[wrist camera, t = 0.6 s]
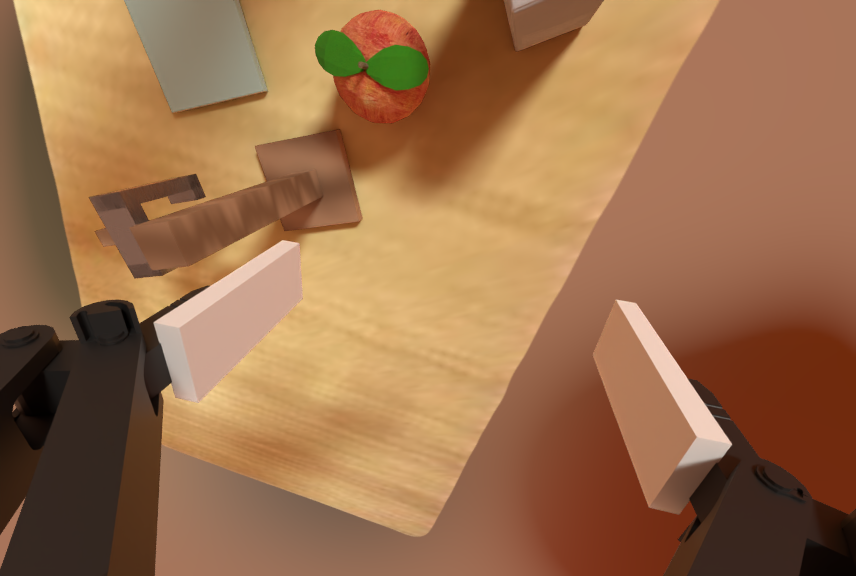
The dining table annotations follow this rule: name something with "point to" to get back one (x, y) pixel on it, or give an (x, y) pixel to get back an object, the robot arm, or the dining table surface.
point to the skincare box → (546, 19)
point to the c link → (140, 215)
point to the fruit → (377, 65)
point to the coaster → (198, 50)
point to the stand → (258, 203)
